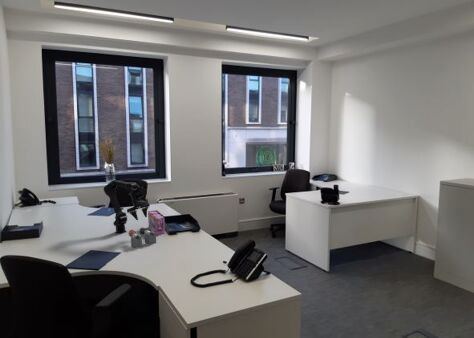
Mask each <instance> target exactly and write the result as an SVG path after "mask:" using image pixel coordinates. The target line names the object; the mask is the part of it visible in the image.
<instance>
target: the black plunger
mask: <svg viewBox="0 0 474 338" xmlns="http://www.w3.org/2000/svg"><path fill="white" fill-rule="evenodd" d="M145 233H149V234H151V232H150V230H147V228H145V227H142V226H141V228H139V235H142V236H143V235H144V236H145Z"/></svg>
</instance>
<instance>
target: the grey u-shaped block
mask: <svg viewBox="0 0 474 338" xmlns="http://www.w3.org/2000/svg"><path fill="white" fill-rule="evenodd" d="M149 231H150V230H149ZM150 232H151V234H149V233H145V234H144V244H146V245H148V246H150V245H154V244H156V243H157V234H156V233H155V232H153V231H152V230H151V231H150Z"/></svg>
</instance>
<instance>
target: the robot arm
mask: <svg viewBox="0 0 474 338" xmlns="http://www.w3.org/2000/svg"><path fill="white" fill-rule="evenodd" d="M118 187H119V188H123V189H125V190H126V191H129V192H128V193H127V195H128V196H129V195H130V197H131V204H133V206H132V207H128V208H126V212H124V211H122V207H121V205H120V203H119V201H118V198H117V195H116V193H117V192H116V191H117V190H116V189H117V188H118ZM103 192H104V193H105V194H104V195H106V196H108V198H109V200H110V203H111V205H112V208H113V210H114V213H115V216H114V219H115V220H114V222H113V226H115V232H114V234H121V235H122V234H124V233H126V232H127V230H126V226H125V225H126V224H127V222H128V216H127V213H128V214H130V215H131V216H132V217H133V218H134V220H136V221H139V218H138V214H137V211H138V210H139V209H141V211H142V214H143V216H144V217H145V218H148V209H149V208H150V207H151V205H150V202H149V200H148V198H145V199H144V200H143V199H142V197H145V196H146V195H147V194H148V191H147V189H145V188H144V186H141V187H140V186H139V184H137V182H126V181H122V180H118V179H113V180H111V181H110V182H109V183H107V184H106V185H104V187H103Z"/></svg>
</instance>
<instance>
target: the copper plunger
mask: <svg viewBox="0 0 474 338" xmlns="http://www.w3.org/2000/svg"><path fill="white" fill-rule="evenodd" d="M127 235H128V236H129V237H130V238H131V236H132V235H133V236H134V237H135V238H137V237H138V234H137V232H136V230H134V229H130V230H129V231H128V233H127Z"/></svg>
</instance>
